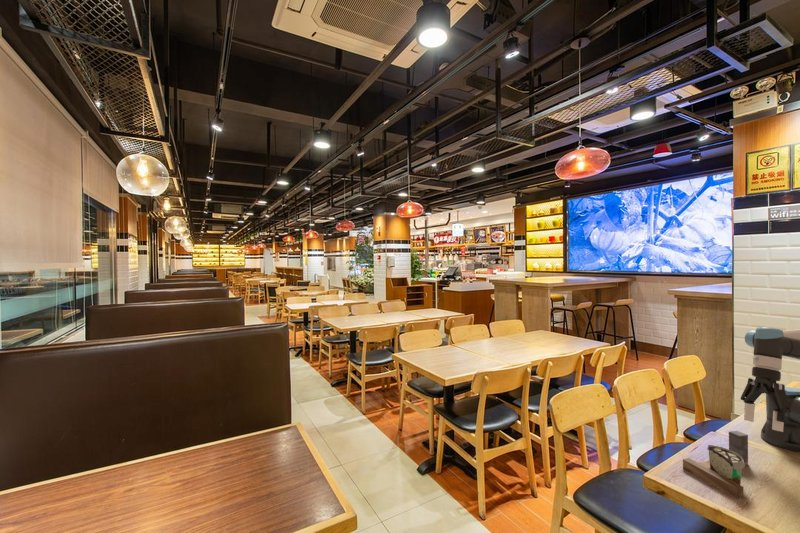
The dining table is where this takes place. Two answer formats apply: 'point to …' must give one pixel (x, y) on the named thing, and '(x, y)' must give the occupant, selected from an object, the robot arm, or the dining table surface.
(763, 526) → the dining table surface
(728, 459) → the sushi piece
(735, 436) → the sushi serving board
